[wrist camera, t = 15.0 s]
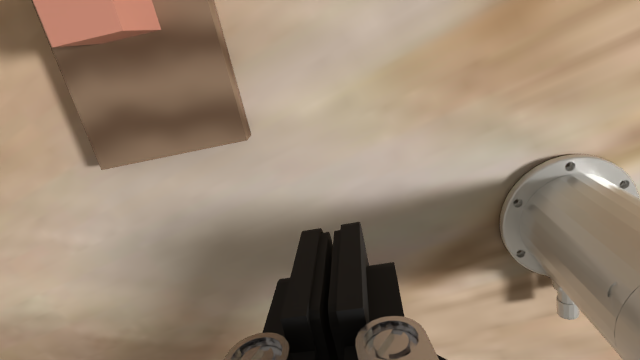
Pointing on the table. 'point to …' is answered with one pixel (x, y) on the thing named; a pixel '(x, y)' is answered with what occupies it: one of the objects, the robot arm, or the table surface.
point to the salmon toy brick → (95, 20)
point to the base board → (157, 88)
